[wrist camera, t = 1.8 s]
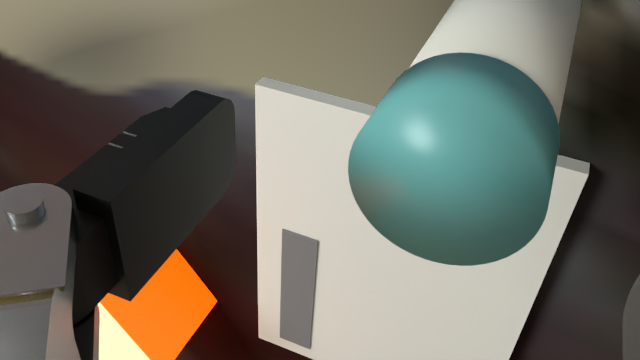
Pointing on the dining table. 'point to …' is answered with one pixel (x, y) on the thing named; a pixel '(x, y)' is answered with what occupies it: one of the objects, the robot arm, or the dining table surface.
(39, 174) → the dining table surface
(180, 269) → the orange juice
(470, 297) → the paper sheet
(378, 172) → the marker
